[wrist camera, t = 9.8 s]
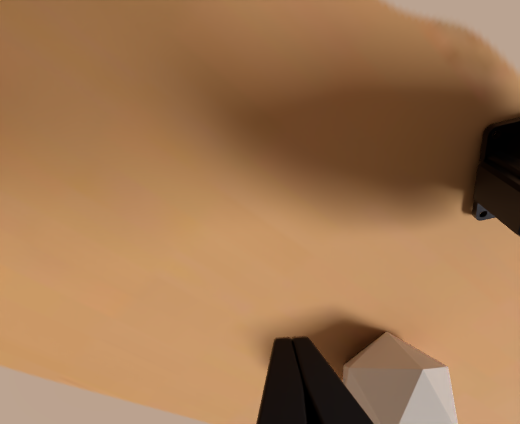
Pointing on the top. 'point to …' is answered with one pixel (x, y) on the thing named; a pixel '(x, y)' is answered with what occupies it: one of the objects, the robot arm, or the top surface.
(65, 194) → the top surface
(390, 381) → the die
